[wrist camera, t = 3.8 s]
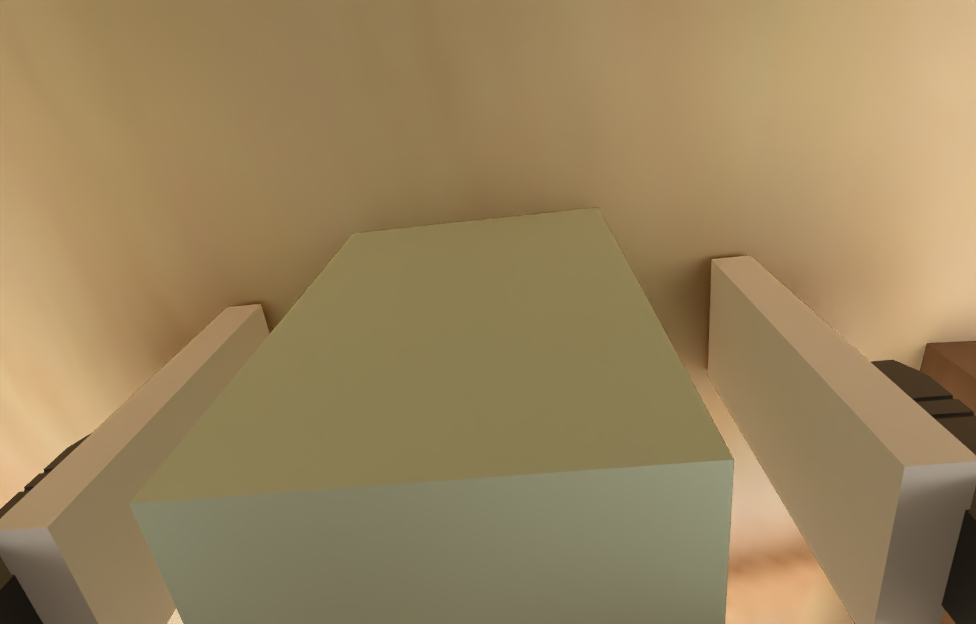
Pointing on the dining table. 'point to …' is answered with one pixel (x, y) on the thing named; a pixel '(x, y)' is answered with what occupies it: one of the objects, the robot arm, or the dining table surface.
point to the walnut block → (953, 379)
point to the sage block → (454, 447)
